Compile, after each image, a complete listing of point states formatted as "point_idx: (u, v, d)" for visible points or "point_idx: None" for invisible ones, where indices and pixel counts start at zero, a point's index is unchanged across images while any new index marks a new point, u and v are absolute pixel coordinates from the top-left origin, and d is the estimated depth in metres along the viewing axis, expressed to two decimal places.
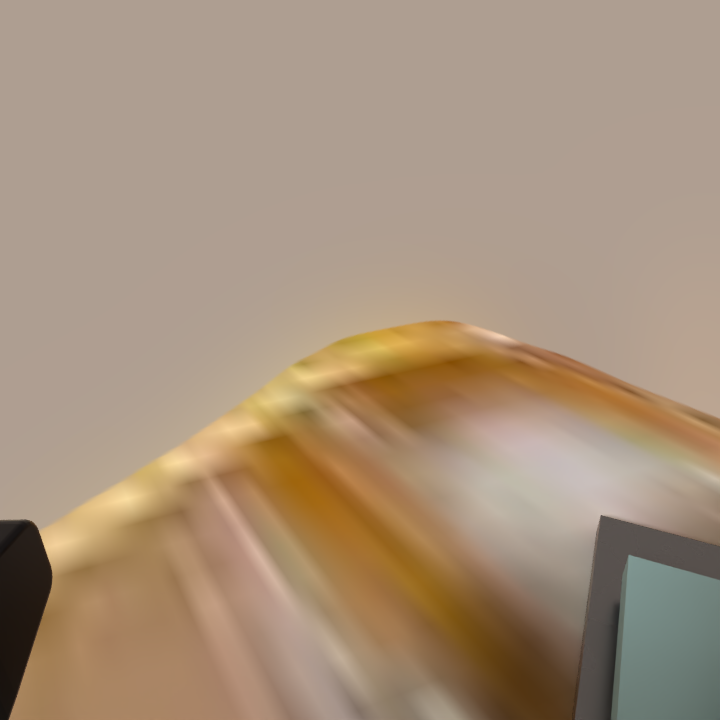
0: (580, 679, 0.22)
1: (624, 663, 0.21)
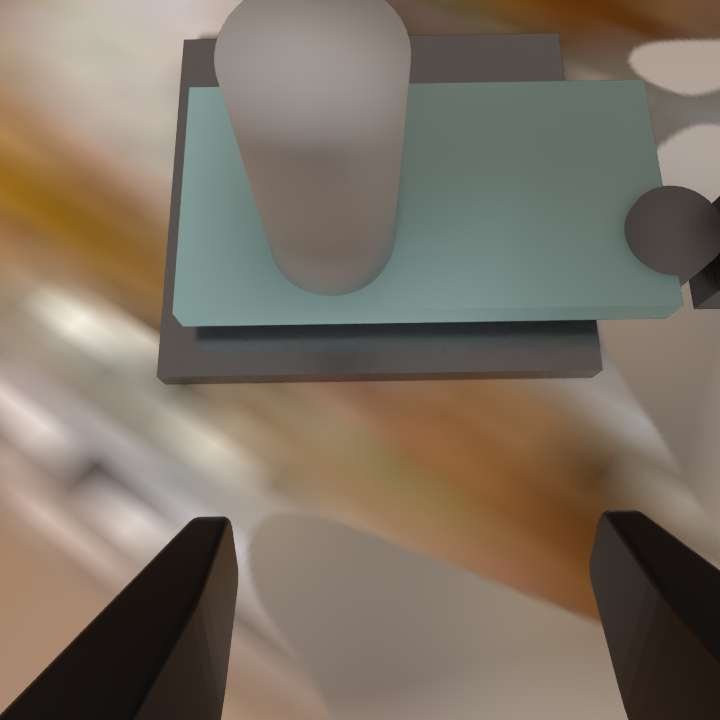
0: (169, 231, 0.23)
1: (183, 209, 0.21)
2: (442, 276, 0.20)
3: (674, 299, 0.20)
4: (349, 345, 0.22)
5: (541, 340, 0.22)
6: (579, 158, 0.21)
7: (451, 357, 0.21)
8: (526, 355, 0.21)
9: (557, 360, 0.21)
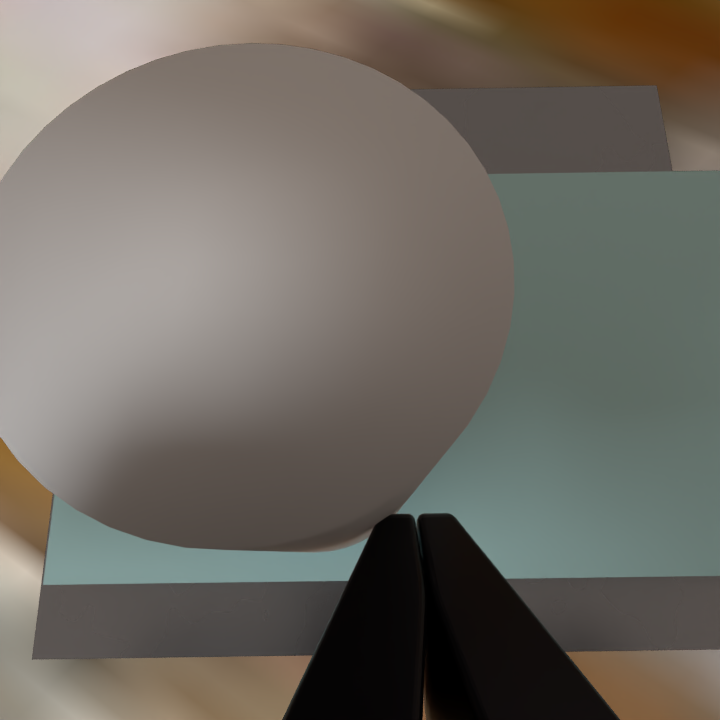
0: None
1: None
2: (502, 516, 0.12)
3: None
4: None
5: (657, 594, 0.13)
6: None
7: None
8: (634, 621, 0.13)
9: (685, 631, 0.13)
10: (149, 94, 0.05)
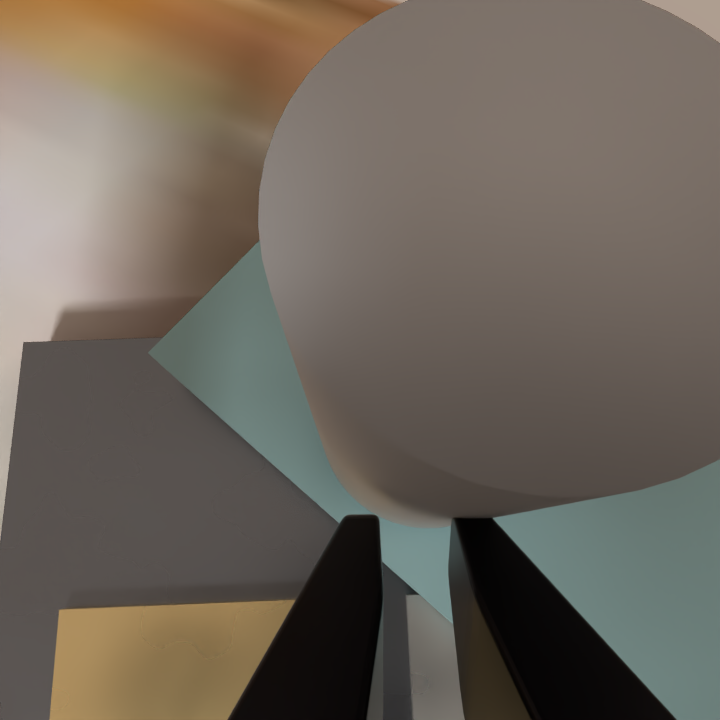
0: None
1: None
2: None
3: None
4: None
5: None
6: None
7: None
8: None
9: None
10: (575, 13, 0.05)
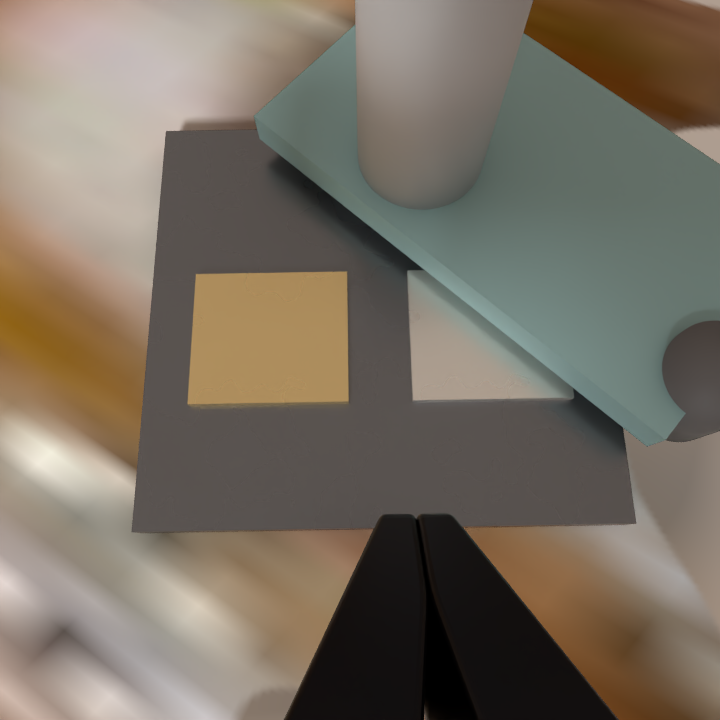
0: (147, 357, 0.20)
1: (331, 49, 0.21)
2: (478, 249, 0.19)
3: (661, 428, 0.18)
4: (349, 493, 0.19)
5: (566, 488, 0.19)
6: (692, 251, 0.19)
7: (465, 508, 0.19)
8: (549, 506, 0.19)
9: (585, 512, 0.19)
10: None
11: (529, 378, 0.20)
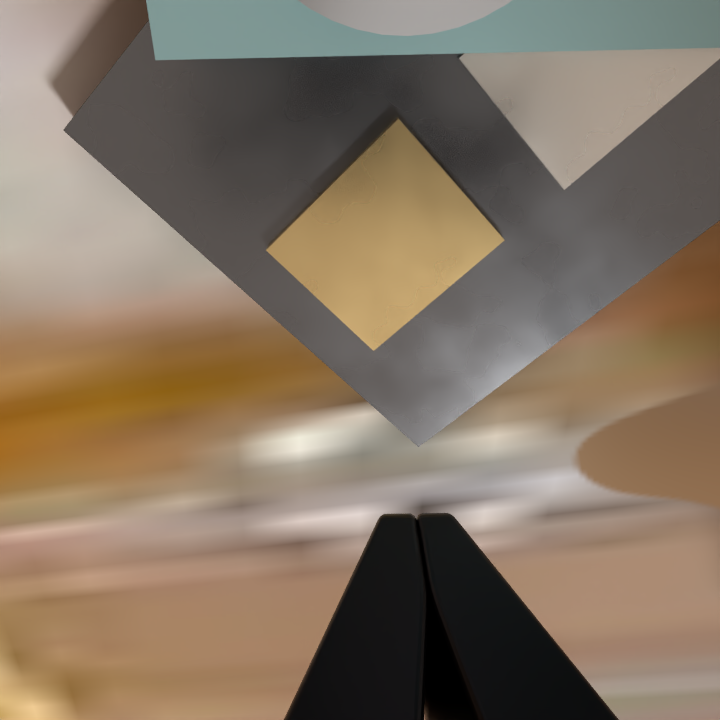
0: (301, 340, 0.19)
1: None
2: None
3: None
4: (560, 303, 0.19)
5: None
6: None
7: (671, 236, 0.18)
8: None
9: None
10: None
11: (674, 65, 0.15)
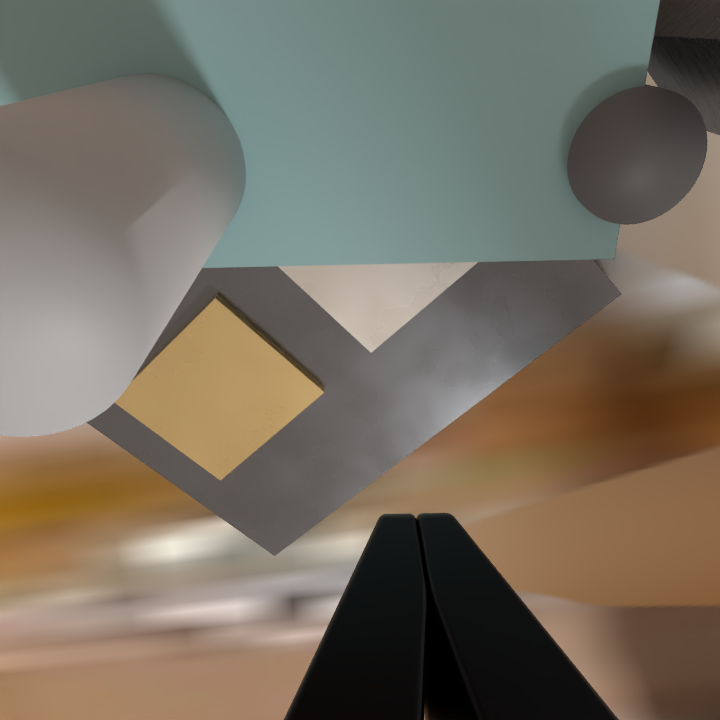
0: (156, 470, 0.21)
1: None
2: (313, 222, 0.15)
3: (604, 252, 0.16)
4: (384, 439, 0.21)
5: (545, 312, 0.19)
6: (532, 19, 0.13)
7: (475, 386, 0.20)
8: (540, 335, 0.19)
9: (572, 317, 0.19)
10: None
11: None
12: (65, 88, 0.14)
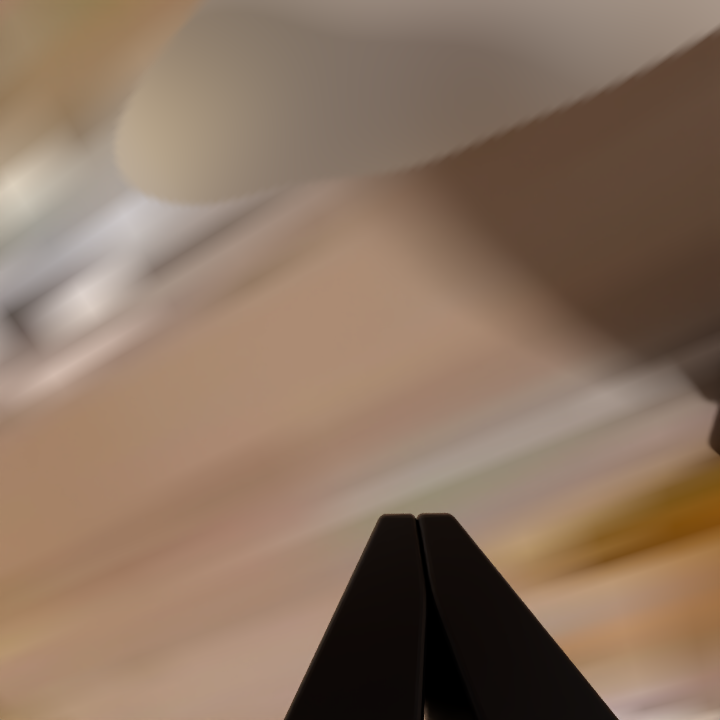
0: None
1: None
2: None
3: None
4: None
5: None
6: None
7: None
8: None
9: None
10: None
11: None
12: None
